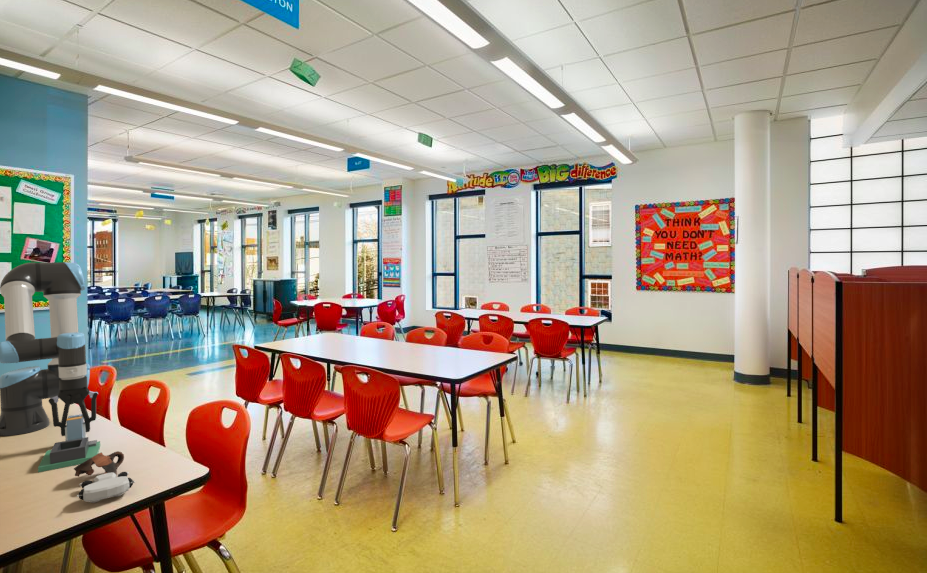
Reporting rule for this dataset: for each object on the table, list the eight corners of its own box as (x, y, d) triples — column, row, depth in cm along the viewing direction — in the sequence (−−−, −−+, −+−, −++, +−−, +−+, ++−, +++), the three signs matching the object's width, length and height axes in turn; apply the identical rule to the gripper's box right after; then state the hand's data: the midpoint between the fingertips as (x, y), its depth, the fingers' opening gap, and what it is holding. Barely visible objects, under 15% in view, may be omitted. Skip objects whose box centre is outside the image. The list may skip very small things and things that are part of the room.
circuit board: (47, 454, 155) (46, 440, 155) (100, 445, 163) (99, 431, 163) (38, 472, 142) (37, 456, 142) (96, 460, 150) (95, 445, 149)
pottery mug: (93, 489, 131) (76, 465, 131) (81, 496, 136) (65, 473, 135) (136, 462, 142) (120, 440, 141) (123, 470, 147) (108, 448, 146)
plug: (70, 443, 165) (68, 415, 165) (84, 440, 167) (83, 413, 167) (68, 448, 160) (66, 420, 160) (82, 446, 163) (81, 417, 162)
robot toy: (77, 494, 130) (77, 511, 118) (76, 478, 130) (76, 494, 118) (131, 480, 138) (136, 496, 126) (130, 465, 138) (135, 479, 126)
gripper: (38, 383, 155) (42, 452, 156) (103, 375, 164) (106, 440, 166) (42, 378, 161) (46, 445, 162) (104, 371, 171) (107, 434, 172)
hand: (76, 442), depth 164 cm, fingers closed on plug, 4 cm apart
